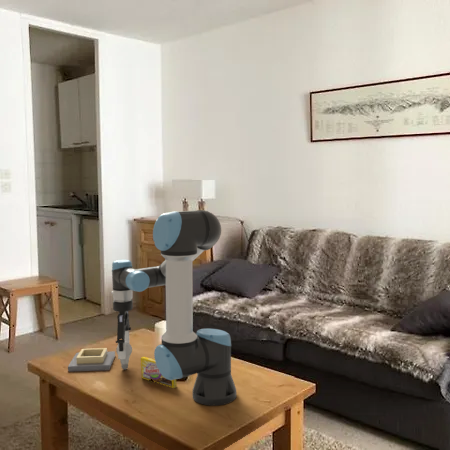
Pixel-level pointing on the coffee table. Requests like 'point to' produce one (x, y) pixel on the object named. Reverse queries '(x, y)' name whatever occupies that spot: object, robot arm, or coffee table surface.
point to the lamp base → (92, 360)
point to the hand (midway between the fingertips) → (124, 352)
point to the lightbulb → (127, 354)
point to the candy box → (154, 372)
